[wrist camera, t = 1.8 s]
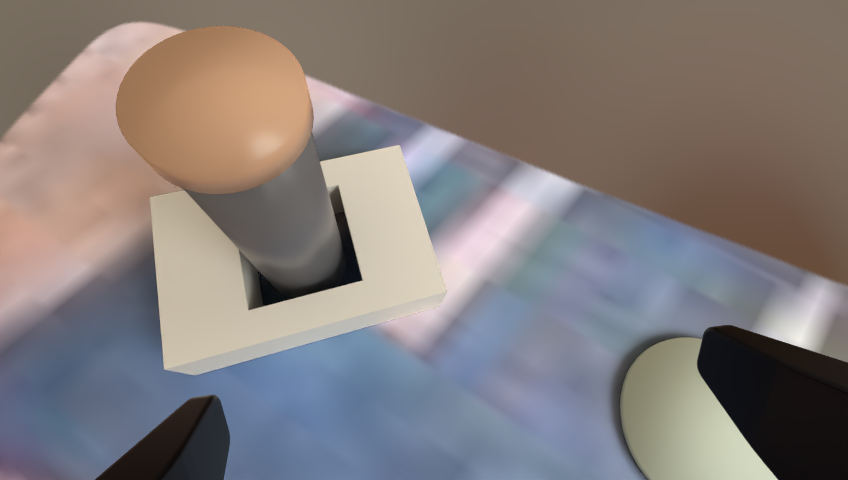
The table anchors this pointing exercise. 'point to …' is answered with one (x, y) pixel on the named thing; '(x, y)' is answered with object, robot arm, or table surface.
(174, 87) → the plug
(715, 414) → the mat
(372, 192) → the square frame
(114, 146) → the table surface
